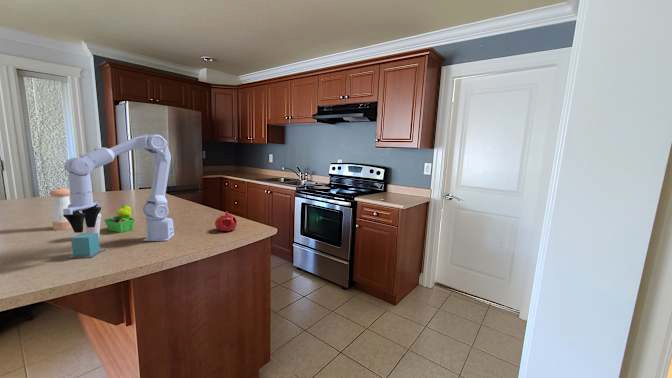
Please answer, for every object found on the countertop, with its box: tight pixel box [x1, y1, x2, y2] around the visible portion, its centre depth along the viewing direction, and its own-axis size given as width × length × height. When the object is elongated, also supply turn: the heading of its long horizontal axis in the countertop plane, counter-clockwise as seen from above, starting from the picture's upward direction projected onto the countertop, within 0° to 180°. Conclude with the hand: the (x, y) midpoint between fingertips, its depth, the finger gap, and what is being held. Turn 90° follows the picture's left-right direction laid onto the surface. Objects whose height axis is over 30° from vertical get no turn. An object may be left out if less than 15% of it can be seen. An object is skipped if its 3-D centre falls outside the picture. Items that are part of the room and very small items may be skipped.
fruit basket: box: [103, 204, 136, 233], centre depth 128 cm, size 11×9×11 cm
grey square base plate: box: [68, 248, 105, 259], centre depth 99 cm, size 7×7×6 cm
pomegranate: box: [214, 210, 238, 232], centre depth 134 cm, size 10×10×9 cm
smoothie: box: [83, 213, 102, 236], centre depth 116 cm, size 6×6×14 cm
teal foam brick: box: [71, 232, 101, 256], centre depth 99 cm, size 5×5×7 cm
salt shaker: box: [49, 186, 73, 231], centre depth 127 cm, size 7×7×19 cm
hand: (85, 229), depth 98 cm, fingers open, 6 cm apart
